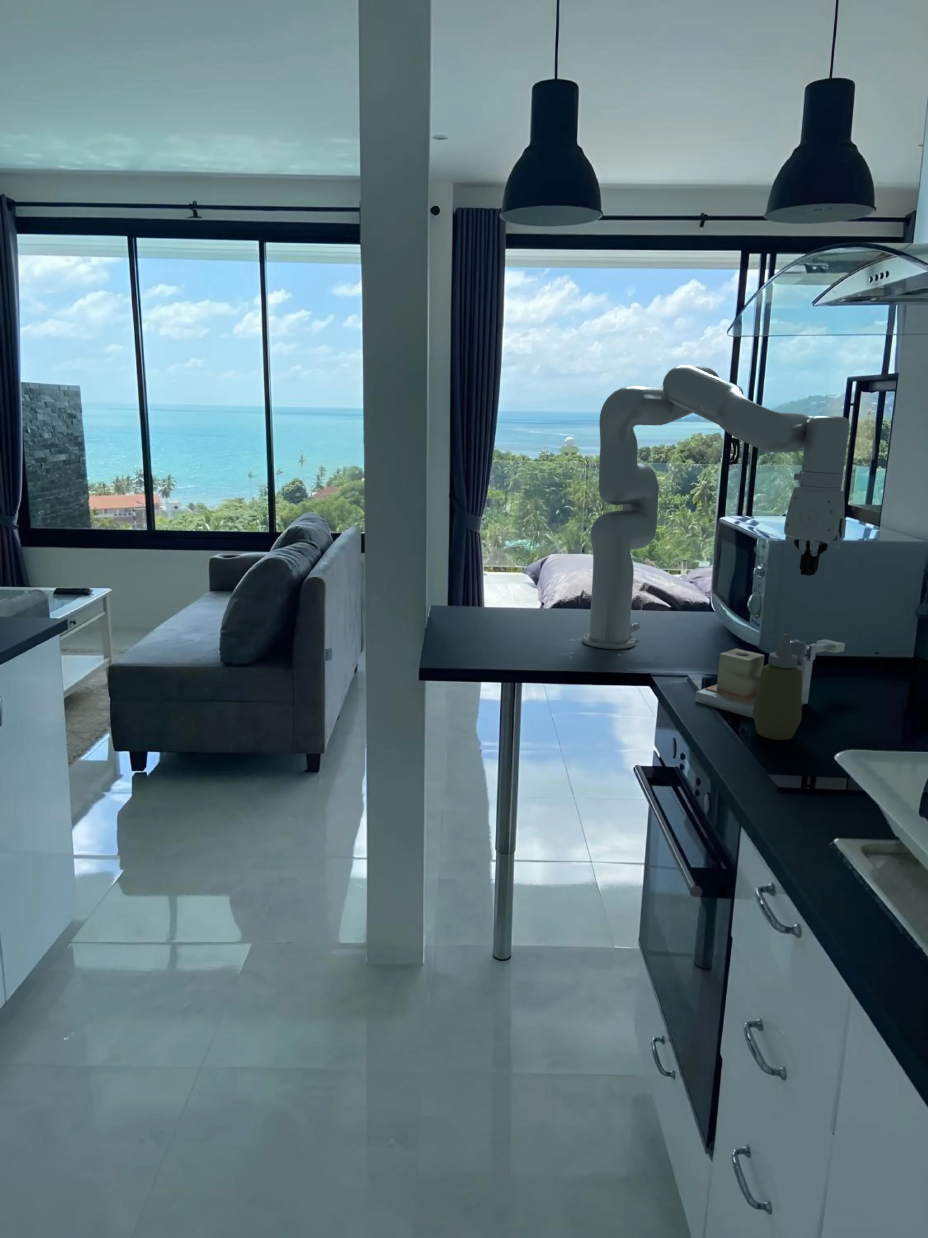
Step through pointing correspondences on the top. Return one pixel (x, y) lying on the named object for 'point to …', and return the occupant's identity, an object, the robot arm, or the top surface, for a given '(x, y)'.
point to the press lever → (822, 645)
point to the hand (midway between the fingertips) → (807, 574)
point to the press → (746, 703)
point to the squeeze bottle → (779, 694)
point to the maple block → (739, 671)
